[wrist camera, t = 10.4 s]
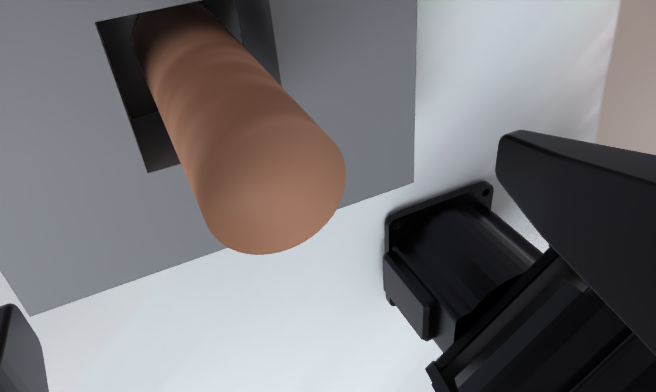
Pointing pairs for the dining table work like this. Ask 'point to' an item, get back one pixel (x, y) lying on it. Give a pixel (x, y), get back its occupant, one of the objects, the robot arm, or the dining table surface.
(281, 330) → the dining table surface
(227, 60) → the terracotta peg
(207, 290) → the dining table surface
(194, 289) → the dining table surface
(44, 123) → the hole block
